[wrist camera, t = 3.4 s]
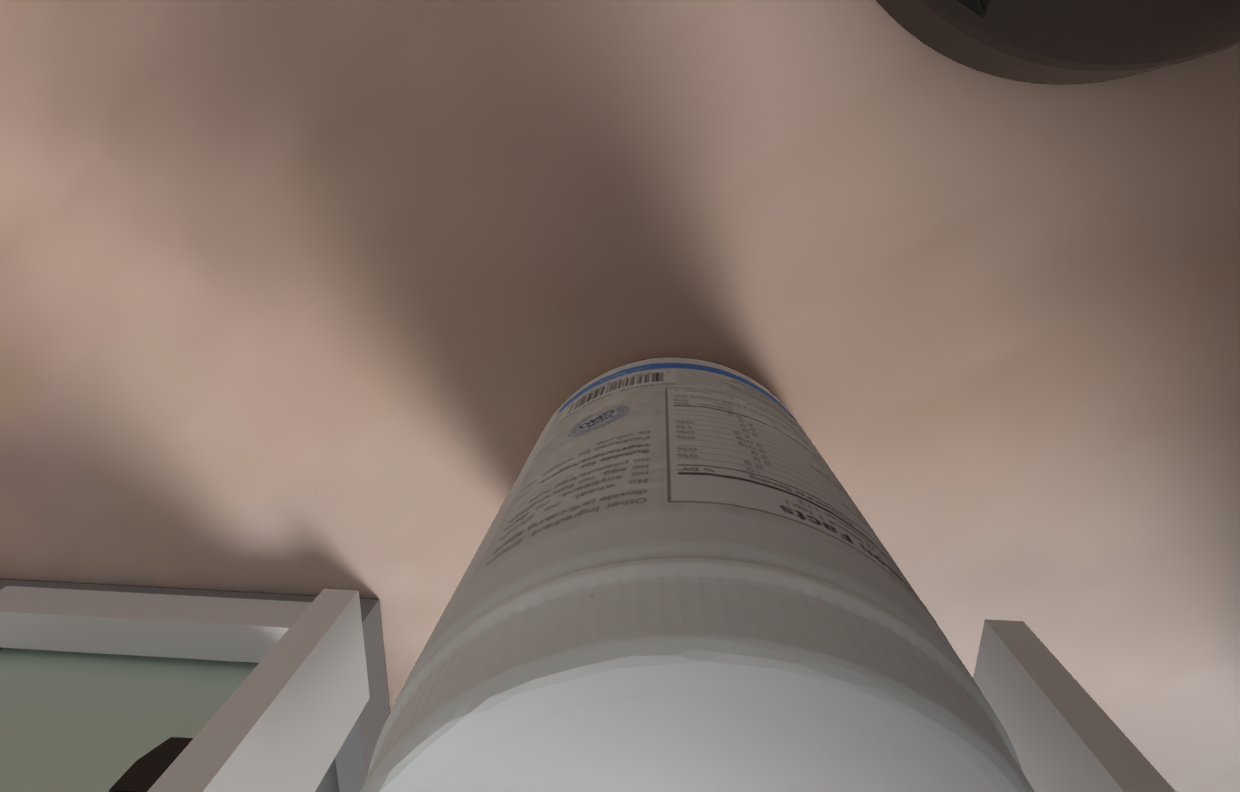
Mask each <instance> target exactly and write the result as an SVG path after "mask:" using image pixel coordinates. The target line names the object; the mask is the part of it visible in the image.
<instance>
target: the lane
mask: <svg viewBox="0 0 1240 792" xmlns="http://www.w3.org/2000/svg"><path fill="white" fill-rule="evenodd" d="M316 597H317V596H307V595H289V594H270V593H252V592H233V591H214V590H196V589H177V588H158V587H140V586H121V585H103V584H84V583H65V582H47V581H28V580H9V579H0V650H2V649H3V648H17V649H34V650H51V651H67V652H84V653H101V654H118V655H134V656H151V657H168V658H185V659H202V660H218V661H235V662H252V663H260V662H261V660H262V659H263V658H264V657H265V656H266V655H267V653H268V652H269V651H270V650H271V649H272V648H273V647H274V645H275V644H276V643H277V642H278V641H279V640H280V639H281V637H282V636H283V635H284V634H285V633H286V632H287V631H288V629H289V628H290V627H291V626H292V625H293V624H294V622H295V621H296V620H297V619H298V618H299V617H300V616H301V614H302V613H303V612H304V611H305V610H306V609H307V608H308V606H309V605H310V604H311V603H312V602H313V601H314V599H315V598H316ZM360 607H361V617H362V627H363V637H364V646H365V656H366V666H367V675H368V685H369V695H370V698H369V700H368V702H367V703H366V705H365V707H364V709H363V710H362V712H361V714H360V715H359V717H358V719H357V721H356V722H355V724H354V726H353V727H352V729H351V731H350V733H349V734H348V736H347V738H346V739H345V741H344V743H343V745H342V746H341V748H340V750H339V751H338V753H337V755H336V757H335V758H334V760H333V762H332V764H331V765H330V767H329V769H328V770H327V772H326V774H325V776H324V777H323V779H322V781H321V782H320V784H319V786H318V788H317V789H316V791H315V792H360V790H361V788H362V786H363V784H364V782H365V780H366V778H367V776H368V771H369V766H370V763H371V759H372V756H373V752H374V749H375V746H376V743H377V740H378V738H379V735H380V733H381V731H382V729H383V726H384V724H385V722H386V720H387V718H388V716H389V715H390V706H389V695H388V685H387V675H386V664H385V654H384V644H383V633H382V623H381V613H380V602H379V599H363V598H360Z"/></svg>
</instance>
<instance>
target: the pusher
mask: <svg viewBox="0 0 1240 792" xmlns="http://www.w3.org/2000/svg"><path fill="white" fill-rule="evenodd" d="M258 664H259V663H252V662H235V661H218V660H202V659H185V658H168V657H151V656H134V655H118V654H101V653H84V652H67V651H51V650H34V649H17V648H3V649H2V650H0V792H109V789H110V788H111V787H112V786H113V785H114V784H115V783H116V782H117V781H118V780H119V779H120V778H121V776H122V775H123V774H124V773H125V772H126V771H127V770H128V769H129V768H130V767H131V766H132V765H133V764H134V763H135V762H136V761H137V760H138V759H140V758H141V757H143V756H144V755H145V754H147V753H148V752H150V751H151V750H153V749H154V748H156V747H157V746H159V745H160V744H161V743H163V742H164V741H166V740H167V739H169V738H170V737H182V738H194V737H195V736H196V735H197V734H198V733H199V732H200V730H201V729H202V728H203V727H204V726H205V725H206V724H207V722H208V721H209V720H210V719H211V718H212V717H213V716H214V714H215V713H216V712H217V711H218V710H219V709H220V707H221V706H222V705H223V704H224V703H225V702H226V701H227V699H228V698H229V697H230V696H231V695H232V694H233V693H234V691H235V690H236V689H237V688H238V687H239V686H240V685H241V683H242V682H243V681H244V680H245V679H246V678H247V676H248V675H249V674H250V673H251V672H252V671H253V670H254V668H255V667H256V666H257V665H258Z"/></svg>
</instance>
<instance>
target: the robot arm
mask: <svg viewBox="0 0 1240 792" xmlns="http://www.w3.org/2000/svg"><path fill="white" fill-rule="evenodd" d="M876 1H877V2H878V3H879V4H880V5H881V6H882V7H883V8H884V9H885V10H886V11H887V12H888V14H889V15H890V16H891V17H893V18H894V19H895V20H896V21H897V22H898V23H899V24H900V25H901V26H902V27H904V28H905V29H906V30H907V31H908V32H910V33H911V34H912V35H914V36H915V37H916V38H918V39H919V40H920V41H921V42H923V43H924V44H926V45H928V46H929V47H931V48H932V49H934V50H936V51H937V52H939V53H940V54H942V55H944V56H946V57H948V58H950V59H952V60H954V61H956V62H958V63H960V64H963V65H965V66H968V67H970V68H973V69H975V70H978V71H981V72H984V73H988V74H991V75H994V76H998V77H1002V78H1007V79H1011V80H1016V81H1023V82H1030V83H1039V84H1083V83H1093V82H1102V81H1108V80H1113V79H1119V78H1124V77H1128V76H1132V75H1136V74H1140V73H1144V72H1147V71H1151V70H1155V69H1158V68H1162V67H1165V66H1169V65H1173V64H1176V63H1180V62H1183V61H1187V60H1190V59H1194V58H1198V57H1201V56H1204V55H1207V54H1210V53H1213V52H1216V51H1219V50H1222V49H1225V48H1227V47H1230V46H1232V45H1235V44H1237V43H1239V42H1240V0H876ZM973 679H974V681H975V682H976V684H977V685H978V687H979V688H980V690H981V692H982V694H983V696H984V697H985V698H986V699H987V701H988V703H989V704H990V706H991V707H992V709H993V711H994V712H995V714H996V715H997V717H998V719H999V720H1000V722H1001V724H1002V725H1003V727H1004V728H1005V730H1006V732H1007V734H1008V736H1009V738H1010V741H1011V743H1012V745H1013V747H1014V749H1015V752H1016V754H1017V757H1018V759H1019V762H1020V764H1021V767H1022V771H1023V773H1024V775H1025V777H1026V778H1027V780H1028V782H1029V783H1030V785H1031V787H1032V788H1033V790H1034V792H1175V790H1174V789H1173V788H1172V787H1171V786H1170V785H1169V784H1168V783H1167V781H1166V780H1165V779H1164V778H1163V777H1162V776H1161V775H1160V774H1159V773H1158V771H1157V770H1156V769H1155V768H1154V767H1153V766H1152V765H1151V764H1150V762H1149V761H1148V760H1147V759H1146V758H1145V757H1144V756H1143V755H1142V754H1141V752H1140V751H1139V750H1138V749H1137V748H1136V747H1135V746H1134V745H1133V743H1132V742H1131V741H1130V740H1129V739H1128V738H1127V737H1126V736H1125V735H1124V733H1123V732H1122V731H1121V730H1120V729H1119V728H1118V727H1117V726H1116V725H1115V723H1114V722H1113V721H1112V720H1111V719H1110V718H1109V717H1108V716H1107V714H1106V713H1105V712H1104V711H1103V710H1102V709H1101V708H1100V707H1099V706H1098V704H1097V703H1096V702H1095V701H1094V700H1093V699H1092V698H1091V697H1090V695H1089V694H1088V693H1087V692H1086V691H1085V690H1084V689H1083V688H1082V687H1081V685H1080V684H1079V683H1078V682H1077V681H1076V680H1075V679H1074V678H1073V677H1072V675H1071V674H1070V673H1069V672H1068V671H1067V670H1066V669H1065V668H1064V666H1063V665H1062V664H1061V663H1060V662H1059V661H1058V660H1057V659H1056V658H1055V656H1054V655H1053V654H1052V653H1051V652H1050V651H1049V650H1048V649H1047V647H1046V646H1045V645H1044V644H1043V643H1042V642H1041V641H1040V640H1039V639H1038V637H1037V636H1036V635H1035V634H1034V633H1033V632H1032V631H1031V630H1030V628H1029V627H1028V626H1027V625H1026V624H1025V623H1024V622H1023V621H1005V620H985V622H984V627H983V632H982V637H981V642H980V647H979V652H978V657H977V662H976V667H975V672H974V677H973ZM369 698H370V695H369V685H368V675H367V666H366V656H365V646H364V637H363V627H362V617H361V607H360V598H359V590H337V589H323V590H322V591H321V593H320V594H319V595H318V596H317V597H316V598H315V599H314V601H313V602H312V603H311V604H310V605H309V606H308V608H307V609H306V610H305V611H304V612H303V613H302V614H301V616H300V617H299V618H298V619H297V620H296V621H295V622H294V624H293V625H292V626H291V627H290V628H289V629H288V631H287V632H286V633H285V634H284V635H283V636H282V637H281V639H280V640H279V641H278V642H277V643H276V644H275V645H274V647H273V648H272V649H271V650H270V651H269V652H268V653H267V655H266V656H265V657H264V658H263V659H262V660H261V662H260V663H259V664H258V665H257V666H256V667H255V668H254V670H253V671H252V672H251V673H250V674H249V675H248V676H247V678H246V679H245V680H244V681H243V682H242V683H241V685H240V686H239V687H238V688H237V689H236V690H235V691H234V693H233V694H232V695H231V696H230V697H229V698H228V699H227V701H226V702H225V703H224V704H223V705H222V706H221V707H220V709H219V710H218V711H217V712H216V713H215V714H214V716H213V717H212V718H211V719H210V720H209V721H208V722H207V724H206V725H205V726H204V727H203V728H202V729H201V730H200V732H199V733H198V734H197V735H196V736H195V737H194V738H182V737H170V738H169V739H167V740H166V741H164V742H163V743H161V744H160V745H159V746H157V747H156V748H154V749H153V750H151V751H150V752H148V753H147V754H145V755H144V756H143V757H141V758H140V759H138V760H137V761H136V762H135V763H134V764H133V765H132V766H131V767H130V768H129V769H128V770H127V771H126V772H125V773H124V774H123V775H122V776H121V778H120V779H119V780H118V781H117V782H116V783H115V784H114V785H113V786H112V787H111V788H110V789H109V792H315V791H316V789H317V788H318V786H319V784H320V782H321V781H322V779H323V777H324V776H325V774H326V772H327V770H328V769H329V767H330V765H331V764H332V762H333V760H334V758H335V757H336V755H337V753H338V751H339V750H340V748H341V746H342V745H343V743H344V741H345V739H346V738H347V736H348V734H349V733H350V731H351V729H352V727H353V726H354V724H355V722H356V721H357V719H358V717H359V715H360V714H361V712H362V710H363V709H364V707H365V705H366V703H367V702H368V700H369Z"/></svg>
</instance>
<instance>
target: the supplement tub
mask: <svg viewBox="0 0 1240 792" xmlns="http://www.w3.org/2000/svg"><path fill="white" fill-rule="evenodd" d="M360 792H1034V790H1033V788H1032V787H1031V785H1030V783H1029V782H1028V780H1027V778H1026V777H1025V775H1024V773H1023V771H1022V767H1021V764H1020V762H1019V759H1018V757H1017V754H1016V752H1015V749H1014V747H1013V745H1012V743H1011V741H1010V738H1009V736H1008V734H1007V732H1006V730H1005V728H1004V727H1003V725H1002V724H1001V722H1000V720H999V719H998V717H997V715H996V714H995V712H994V711H993V709H992V707H991V706H990V704H989V703H988V701H987V699H986V698H985V697H984V696H983V694H982V692H981V690H980V688H979V687H978V685H977V684H976V682H975V681H974V679H973V678H972V676H971V675H970V673H969V672H968V670H967V669H966V667H965V666H964V664H963V663H962V662H961V660H960V659H959V657H958V656H957V654H956V653H955V651H954V650H953V648H952V646H951V645H950V643H949V641H948V640H947V638H946V636H945V635H944V633H943V632H942V631H941V629H940V628H939V626H938V625H937V623H936V621H935V620H934V618H933V617H932V616H931V614H930V613H929V611H928V610H927V608H926V607H925V605H924V604H923V603H922V602H921V600H920V599H919V597H918V596H917V594H916V593H915V591H914V590H913V589H912V587H911V586H910V584H909V583H908V581H907V580H906V578H905V577H904V575H903V574H902V572H901V571H900V569H899V568H898V566H897V565H896V563H895V562H894V560H893V559H892V557H891V556H890V554H889V553H888V552H887V550H886V549H885V547H884V546H883V544H882V543H881V541H880V540H879V539H878V537H877V536H876V534H875V533H874V531H873V530H872V528H871V527H870V525H869V524H868V522H867V521H866V519H865V518H864V517H863V515H862V514H861V512H860V511H859V509H858V508H857V506H856V505H855V504H854V502H853V501H852V499H851V498H850V496H849V495H848V494H847V492H846V491H845V489H844V488H843V486H842V485H841V484H840V482H839V481H838V479H837V478H836V476H835V475H834V473H833V472H832V471H831V469H830V468H829V466H828V465H827V463H826V462H825V460H824V459H823V458H822V456H821V455H820V453H819V452H818V450H817V449H816V447H815V446H814V445H813V443H812V442H811V440H810V439H809V437H808V436H807V435H806V433H805V432H804V430H803V429H802V427H801V426H800V425H799V424H798V422H797V421H796V419H795V418H794V417H793V415H792V414H791V413H790V411H789V410H788V409H787V408H786V407H785V406H784V405H783V404H782V403H781V402H780V400H779V399H778V398H777V397H775V396H774V395H773V394H772V393H771V392H770V391H769V390H767V389H766V388H765V387H763V386H762V385H760V384H759V383H758V382H756V381H754V380H752V379H751V378H749V377H747V376H746V375H744V374H742V373H740V372H738V371H736V370H733V369H731V368H728V367H725V366H722V365H719V364H716V363H712V362H708V361H703V360H697V359H688V358H652V359H647V360H642V361H637V362H633V363H629V364H626V365H623V366H620V367H618V368H615V369H612V370H610V371H608V372H606V373H604V374H602V375H600V376H598V377H596V378H595V379H593V380H591V381H590V382H588V383H586V384H585V385H584V386H582V387H581V388H580V389H579V390H577V391H576V392H575V393H574V394H572V395H571V396H570V397H569V398H568V399H567V400H566V401H565V402H564V403H563V404H562V405H561V406H560V407H559V409H558V410H557V411H556V412H555V413H554V414H553V416H552V417H551V419H550V420H549V422H548V423H547V425H546V426H545V428H544V430H543V432H542V433H541V435H540V437H539V439H538V440H537V442H536V444H535V446H534V448H533V449H532V451H531V453H530V455H529V457H528V459H527V461H526V463H525V465H524V467H523V468H522V470H521V472H520V474H519V476H518V478H517V479H516V481H515V483H514V485H513V486H512V488H511V490H510V492H509V494H508V495H507V497H506V499H505V501H504V502H503V504H502V506H501V508H500V509H499V511H498V513H497V515H496V517H495V519H494V520H493V522H492V524H491V526H490V528H489V530H488V532H487V534H486V535H485V537H484V539H483V541H482V543H481V545H480V547H479V548H478V550H477V552H476V554H475V556H474V558H473V559H472V561H471V563H470V565H469V567H468V568H467V570H466V572H465V574H464V576H463V578H462V579H461V581H460V583H459V585H458V587H457V588H456V590H455V592H454V594H453V596H452V598H451V599H450V601H449V603H448V605H447V607H446V609H445V610H444V612H443V614H442V616H441V618H440V620H439V621H438V623H437V625H436V627H435V629H434V631H433V632H432V634H431V636H430V638H429V640H428V642H427V644H426V645H425V647H424V649H423V651H422V653H421V655H420V656H419V658H418V660H417V662H416V664H415V666H414V668H413V669H412V671H411V673H410V675H409V677H408V679H407V681H406V683H405V684H404V686H403V688H402V690H401V692H400V694H399V696H398V698H397V700H396V703H395V705H394V707H393V709H392V711H391V713H390V715H389V716H388V718H387V720H386V722H385V724H384V726H383V729H382V731H381V733H380V735H379V738H378V740H377V743H376V746H375V749H374V752H373V756H372V759H371V763H370V766H369V771H368V776H367V778H366V780H365V782H364V784H363V786H362V788H361V790H360Z"/></svg>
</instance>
